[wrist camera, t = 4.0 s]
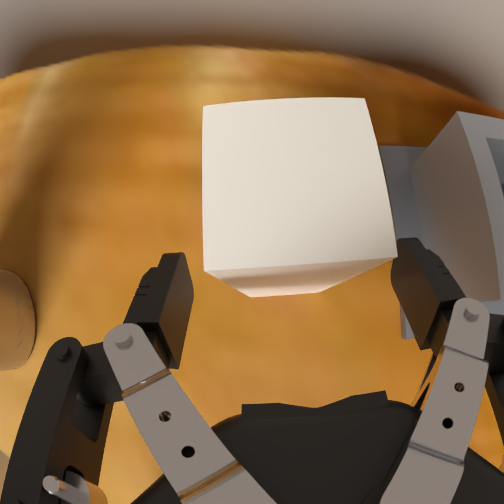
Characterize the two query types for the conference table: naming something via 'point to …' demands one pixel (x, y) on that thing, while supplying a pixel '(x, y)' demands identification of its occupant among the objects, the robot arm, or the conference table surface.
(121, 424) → the conference table surface
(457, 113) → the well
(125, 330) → the robot arm
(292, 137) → the white square block
